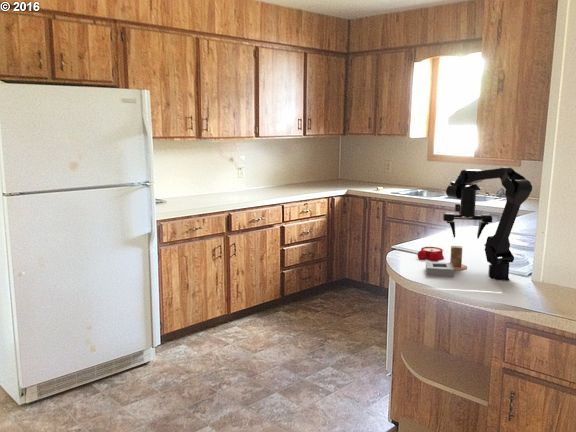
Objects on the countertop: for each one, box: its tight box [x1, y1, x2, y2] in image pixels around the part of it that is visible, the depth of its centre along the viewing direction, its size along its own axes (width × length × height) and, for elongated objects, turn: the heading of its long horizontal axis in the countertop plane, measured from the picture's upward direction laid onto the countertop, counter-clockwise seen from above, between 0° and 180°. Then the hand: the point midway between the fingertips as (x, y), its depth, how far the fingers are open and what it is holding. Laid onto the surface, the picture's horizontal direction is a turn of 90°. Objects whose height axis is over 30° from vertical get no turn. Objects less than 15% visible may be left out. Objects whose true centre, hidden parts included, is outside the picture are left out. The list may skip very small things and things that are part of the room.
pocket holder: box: [425, 261, 455, 278], centre depth 208 cm, size 10×10×4 cm
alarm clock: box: [416, 246, 445, 262], centre depth 232 cm, size 10×6×15 cm
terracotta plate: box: [453, 263, 468, 271], centre depth 216 cm, size 9×9×1 cm
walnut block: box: [449, 245, 463, 267], centre depth 215 cm, size 4×4×8 cm
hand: (466, 238), depth 217 cm, fingers open, 9 cm apart
